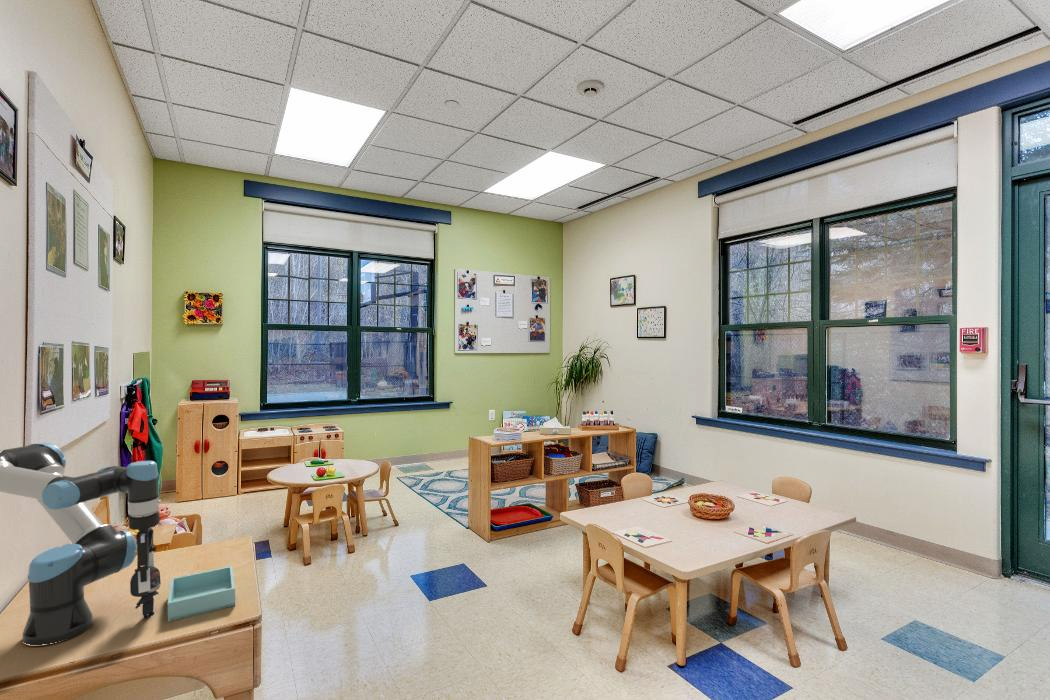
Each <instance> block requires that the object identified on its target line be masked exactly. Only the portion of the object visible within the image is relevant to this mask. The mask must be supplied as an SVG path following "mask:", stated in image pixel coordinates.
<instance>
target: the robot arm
mask: <svg viewBox="0 0 1050 700" xmlns="http://www.w3.org/2000/svg"><path fill="white" fill-rule="evenodd" d="M2 450H3V451H2V452H1V453H0V493H6V494H10V495H15V496H20V497H24V498H25V497H26V498H30V499H35V500H37V501H38V503H39V504H40V505H41V507H42V508H43V509H44V510H45V512H47V513H48V515H49V516H50V518H52V520H53V521H54V522H55V524H56V525H57V526H58V527H59V529H60V530H61V531H62V532H63V534H64V535H65V536H66V537H67V538H68V540H69V541H70V542H71V543H68V544H63V545H61V546H55V547H52V548H49V549H47V550H45V551H43V552H41V553H40V554H37V555H36V556H35V557H34V558H33V559H32V560H31V562H30V563H29V566H28V575H27V580H28V589H29V590H28V591H29V615H28V617H27V621H26V623H25V626H24V629H23V631H22V643H23V642H24V643H26V644H30V645H42V644H50V643H55V642H59V641H62V640H65V641H67V640H66V639H68V640H70V639H73V638H75V637H76V636H77V637H78V636H79V635H80V634H83V633H84V632H85V631H87V630H88V629H90V627H91V626H92V625H93V623H94V621H93V617H94V616H93V613H92V611H91V609H90V607H89V605H88V603H87V601H86V599H85V587H86V586H87V585H90V584H93V583H94V582H96V581H99V580H102V579H104V578H106V577H108V576H111V575H113V574H115V573H116V574H117V573H119V572H121V570H124V569H126V568H128V567H129V566H131V565H132V564H133V562H134V561H135V559H136V556H137V559H136V560H137V562H136V563H137V565H136V567H137V568H135V569H134V573H135V572H138V588H139V593H142V592H146V591H150V568H149V566H153V567H155V558H154V557H155V556H154V554H155V553H154V551H157V547H156V546H155V544H154V529H153V527H156V526H158V525H159V524H160V522H161V521H160V520H161V519H160V511H159V509H160V504H161V503H162V500H161V499H159V497H160V496H159V492H160V491H159V471H158V464H157V462H155V461H154V460H139V461H136V462H135V461H134V462H131V463H129V464H128V465H127V466H126V467H125V466H121V465H120V466H117V465H112V466H105V467H102V468H100V469H99V470H97V471H96V472H92V473H87V474H84V475H83V474H82V475H79V476H67V475H64V474H65V471H66V470H65V468H66V463H67V462H66V461H67V460H66V459H65V454H64V452H63V451H62V449H60V447H58V446H57V445H55V444H53V443H49V442H42V443H31V444H29V445H25V446H24V445H23V446H18V447H12V448H7V449H2ZM116 493H117V494H118V493H120V494H122V493H123V494H127V512H128V515H129V516H128V528H129V529H130V530H132V531H133V530H134V531H135V530H137V533H136V537H135V536H134V534H133V533H132V532H131V531H129V530H125V529H124V530H123V529H122V530H119V531H118V530H117V529H116V528H115V527H114V525H112V524H104V523H103V522H102V520H101V519H99V517H98V516H97V515H96V513H94V512H93V510H92V509H91V508H90V507H89V505H87V502H88V501H92V500H95V499H99V498H103V497H106V496H110V495H113V494H116ZM72 637H73V638H72ZM69 638H70V639H69ZM62 642H63V641H62ZM59 643H60V642H59ZM55 644H56V643H55Z"/></svg>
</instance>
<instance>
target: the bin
mask: <svg viewBox="0 0 1050 700" xmlns="http://www.w3.org/2000/svg"><path fill="white" fill-rule="evenodd" d="M233 568H234V567H233V565H231V566H224V567H219V568H215V569H211V570H206V571H200V572H197V573H191V574H185V575H181V576H177V577H172V578H171V579H170V584H169V592H168V597H167V598H168V599H167V622H172V621H177V620H180V619H181V620H182V619H184V618H190V617H193V616H197V615H201V614H205V613H209V612H213V611H218V610H222V609H227V608H231V607H234V606H236V586H235V578H234V577H235V575H234V569H233Z"/></svg>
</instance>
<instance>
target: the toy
mask: <svg viewBox="0 0 1050 700" xmlns="http://www.w3.org/2000/svg"><path fill="white" fill-rule="evenodd" d="M149 568H150V591H146V592H142V593H139V588H138V572H135V571H134V573H133V574H132V576H131V577H130V580H129V581H130V582H129V586H130V587H129V589H130V591H129V593H130V595H131V596H132V597H134V598H136V597H137V598H140V599H139V600H138V602H137V603H136V604H135V605H136V606H135V607H134V608H135V609H139V608H140V607H141V605H142V607H141V608H142V616H143V619H149V618H150V616H149V615H151V616H152V615H154V614H155V611H154V602H155V600H154V596H157V595H159V593H160V592H159V591H157V590H159V589H160V587H161V583H162V582H161V574H160V573H161V572H160V570H159V569H158V568H157V567H156V566H154V567H153V566H149Z"/></svg>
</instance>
